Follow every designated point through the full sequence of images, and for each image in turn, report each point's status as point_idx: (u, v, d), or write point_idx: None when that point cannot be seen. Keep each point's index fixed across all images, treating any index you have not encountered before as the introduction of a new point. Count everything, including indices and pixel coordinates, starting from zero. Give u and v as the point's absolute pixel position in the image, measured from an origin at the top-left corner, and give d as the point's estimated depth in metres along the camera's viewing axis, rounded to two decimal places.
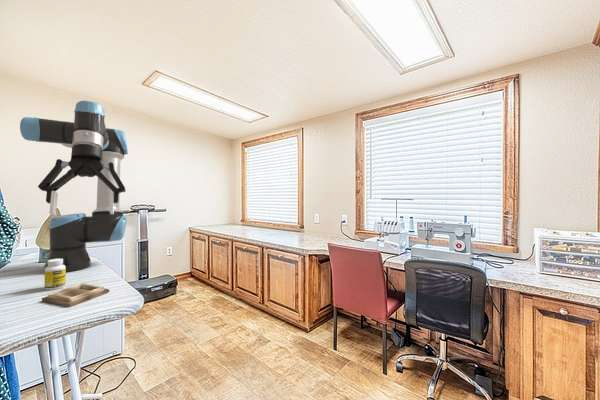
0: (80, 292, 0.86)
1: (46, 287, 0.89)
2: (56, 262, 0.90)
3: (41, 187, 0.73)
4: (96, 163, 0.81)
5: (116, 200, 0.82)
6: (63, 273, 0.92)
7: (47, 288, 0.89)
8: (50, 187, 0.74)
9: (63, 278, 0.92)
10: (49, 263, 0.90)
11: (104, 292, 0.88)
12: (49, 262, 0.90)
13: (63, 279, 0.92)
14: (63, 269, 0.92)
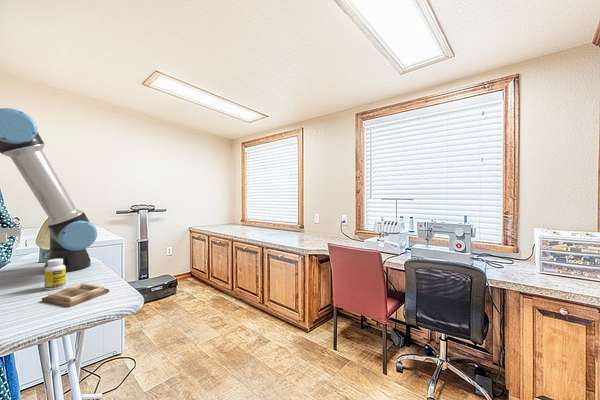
0: (80, 292, 0.86)
1: (46, 287, 0.89)
2: (56, 262, 0.90)
3: None
4: None
5: None
6: (63, 273, 0.92)
7: (47, 288, 0.89)
8: None
9: (63, 278, 0.92)
10: (49, 263, 0.90)
11: (104, 292, 0.88)
12: (49, 262, 0.90)
13: (63, 279, 0.92)
14: (63, 269, 0.92)
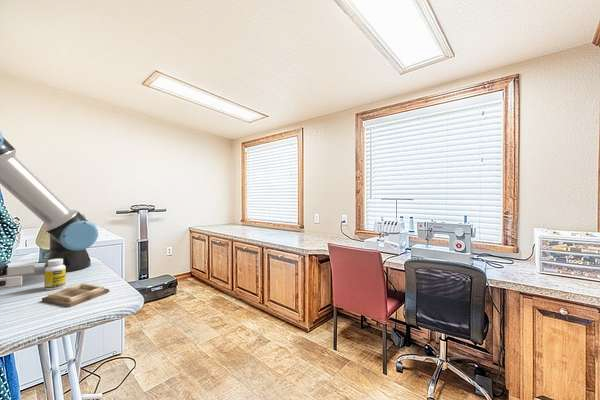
0: (80, 292, 0.86)
1: (46, 287, 0.89)
2: (56, 262, 0.90)
3: None
4: None
5: None
6: (63, 273, 0.92)
7: (47, 288, 0.89)
8: (3, 274, 0.90)
9: (63, 278, 0.92)
10: (49, 263, 0.90)
11: (104, 292, 0.88)
12: (49, 262, 0.90)
13: (63, 279, 0.92)
14: (63, 269, 0.92)
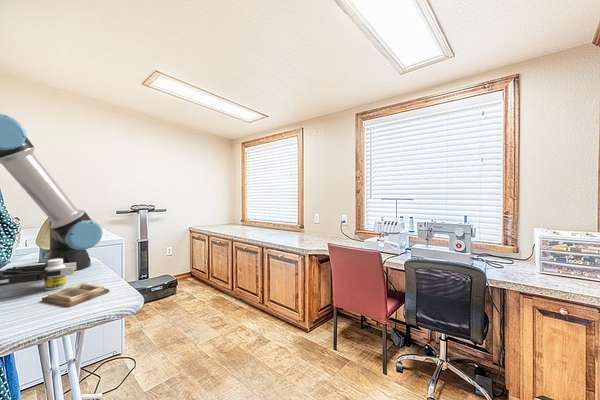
0: (80, 292, 0.86)
1: (46, 287, 0.89)
2: (56, 262, 0.90)
3: None
4: None
5: None
6: None
7: (47, 288, 0.89)
8: None
9: (63, 278, 0.92)
10: (49, 263, 0.90)
11: (104, 292, 0.88)
12: (49, 262, 0.90)
13: (63, 279, 0.92)
14: None
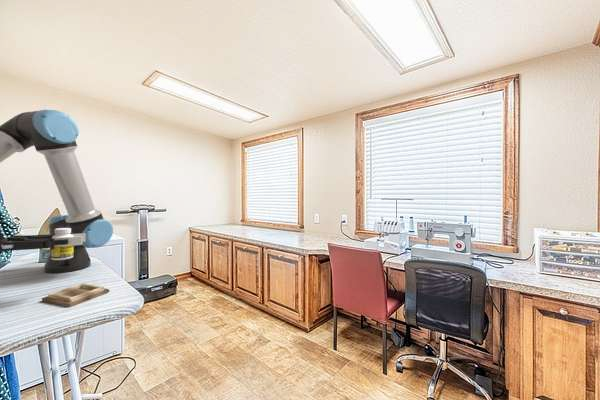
0: (80, 292, 0.86)
1: (53, 257, 0.83)
2: (63, 231, 0.84)
3: None
4: None
5: (65, 244, 0.82)
6: None
7: (54, 258, 0.83)
8: None
9: (71, 248, 0.86)
10: (56, 231, 0.83)
11: (104, 292, 0.88)
12: (56, 230, 0.83)
13: (71, 250, 0.86)
14: None
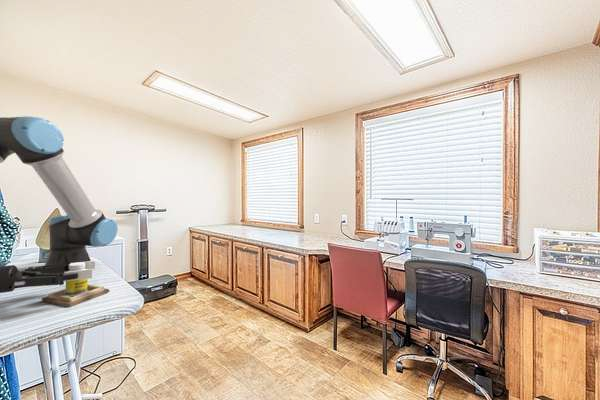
0: None
1: (67, 293, 0.82)
2: (78, 267, 0.83)
3: None
4: None
5: None
6: None
7: (69, 294, 0.82)
8: (66, 270, 0.88)
9: (85, 283, 0.85)
10: (71, 267, 0.83)
11: (104, 292, 0.88)
12: (71, 266, 0.83)
13: (85, 284, 0.85)
14: None
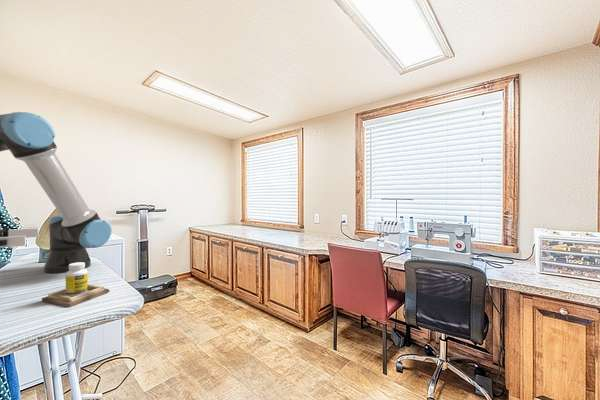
0: None
1: (67, 293, 0.82)
2: (78, 267, 0.83)
3: None
4: None
5: (3, 245, 0.70)
6: (85, 278, 0.85)
7: (69, 294, 0.82)
8: None
9: (85, 283, 0.85)
10: (71, 267, 0.83)
11: (104, 292, 0.88)
12: (71, 266, 0.83)
13: (85, 284, 0.85)
14: (85, 274, 0.85)
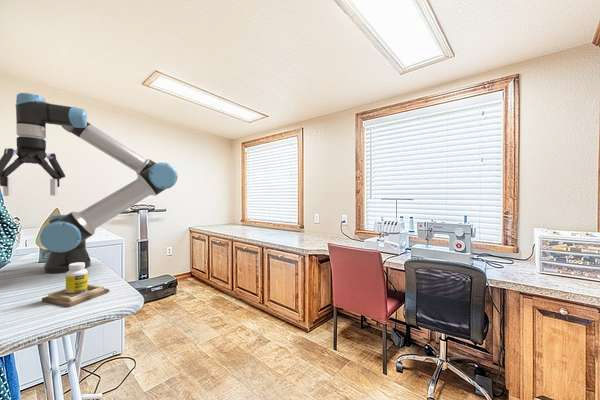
0: None
1: (67, 293, 0.82)
2: (78, 267, 0.83)
3: None
4: None
5: None
6: (85, 278, 0.85)
7: (69, 294, 0.82)
8: None
9: (85, 283, 0.85)
10: (71, 267, 0.83)
11: (104, 292, 0.88)
12: (71, 266, 0.83)
13: (85, 284, 0.85)
14: (85, 274, 0.85)
